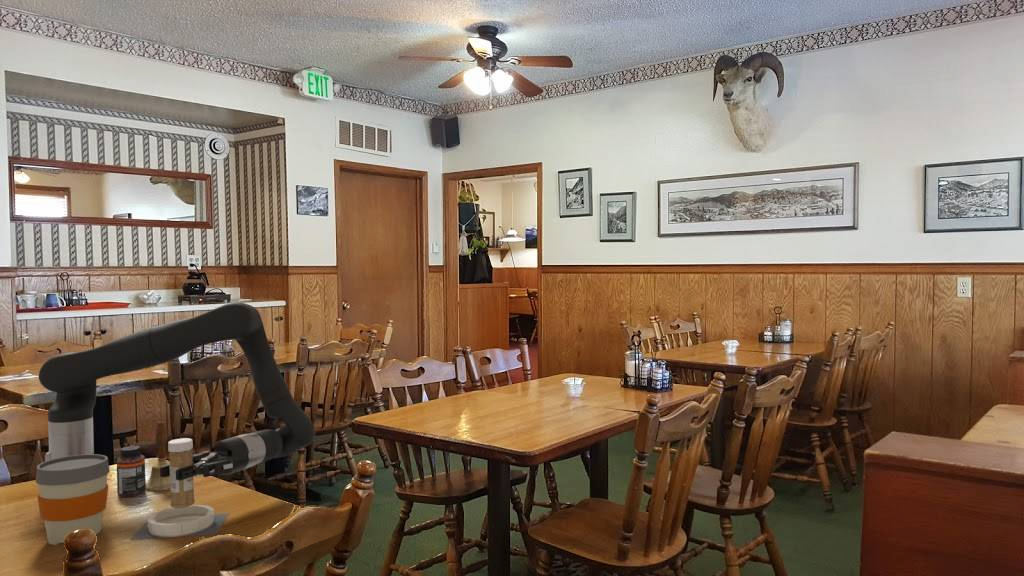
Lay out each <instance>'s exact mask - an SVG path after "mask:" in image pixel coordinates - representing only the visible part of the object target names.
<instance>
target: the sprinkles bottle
mask: <svg viewBox="0 0 1024 576" xmlns="http://www.w3.org/2000/svg"><path fill="white" fill-rule="evenodd" d="M193 448H194V445H193V439H192V438H188V437H182V438H175V439H172V440H169V441H168V444H167V449H168V450H167V451H168V454H169V456H168V457H169V462H170V466H169V467H170V490H169V491H170V499H171V500H170V501H171V503H170V506H171V507H170V508H172V507H173V508H186V507H188V506H191V505H195V503H196V502H195V501H196V500H195V494H194V493H195V491H194V487H195V481H194V476H193V477H190V478H187V479H184V480H181V481H179V480H176V470H177V469H180V468H184V467H187V466H191V465H194V464H192V463H193V462H192V452H193Z"/></svg>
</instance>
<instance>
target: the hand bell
mask: <svg viewBox="0 0 1024 576" xmlns="http://www.w3.org/2000/svg"><path fill="white" fill-rule="evenodd" d="M155 441H156V444H157V449H158V450H157V453H158V454H157V455H158V456H157V458H158V459H157V462H156V463H154V464H153V465H152V466H151V472H150V476H149V479H148V480H147V482H146V491H147V492H162V490H164V491H168V490H167V489H170V476H168V477H161V476H160V468H161V467H162V466H165V465H168V464H170V461H169V462H168V461H167V458H166V457H167V456H166V445H167V444H166V443H167V441H168V430H167V427H166V425H165V422H164V421H158V423H157V427H156V429H155Z"/></svg>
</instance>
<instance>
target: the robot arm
mask: <svg viewBox="0 0 1024 576" xmlns="http://www.w3.org/2000/svg"><path fill="white" fill-rule="evenodd" d="M230 340H234V341H235V342H236V343H237V344H238V345H239V347H240V349H241V350H242V351H243V353H244V355H245V358H246V360H247V362H248V365H249V368H250V369H249V370H250V372H251V378H252V381H253V386H254V390H255V391H256V394H257V396H258V398H259V400H260V402H261V404H262V405H261V406H262V407H263V409H264V411H265V413H266V415H267V417H269V418H270V419H277V418H280V419H281V420H282V421H283V422H284V423H285V424H284V425H283V426H281V427H279V428H278V427H277V428H276V429H271V428H269V429H268V428H267V429H263V430H258V431H255V432H250V433H244V434H239V435H236V436H232V437H228V438H225V439H222V440H218V441H217V442H215V443H214V444H213V445H212V447H211V449H210V450H206V451H205V450H204V451H201V452H200V453H195V452H194V451H192V462H193V463H192V464H193V465H191V466H187V467H184V468H180V469H177V470H176V480H179V481H181V480H184V479H187V478H190V477H193V478H194V477H197V478H199V477H201V476H202V477H203V478H208V477H212V476H217V475H222V476H227V475H231V474H233V473H237V472H240V471H244V470H246V469H249V468H252V467H254V466H256V465H258V464H261V463H265V462H267V461H269V460H273V459H278V458H283V457H287V456H290V455H293V454H295V453H297V452H298V451H300V450H303V449H304V448H306V447H308V446H309V445H311V444H312V443H313V442H314V441H315V437H316V428H315V426H314V425H315V424H314V423H313V421H312V420H311V418H310V417H309V416H308V415H307V413H306V412H305V411H304V410H303V409H302V408H301V406H300V405H299V404H298V403H297V402H296V401H295V400H294V398H293V395H292V393H291V390H290V389H289V387H288V384H287V383H286V381H285V379H284V376H283V374H282V372H281V370H280V368H279V366H278V364H277V362H276V359H275V356H274V355H273V352H272V350H271V347H270V344H269V340H268V337H267V333H266V329H265V326H264V323H263V318H262V316H261V313H260V312H259V310H258V309H256V307H254V306H253V305H250V304H249V303H248V304H247V303H244V302H241V301H233V302H228V303H224V304H223V305H220V306H218V307H216V308H213V309H211V310H208V311H206V312H203V313H200V314H198V315H196V316H193V317H190V318H184V319H180V320H179V319H178V320H175V321H171V322H166V323H164V324H163V323H162V324H159V325H155V326H153V327H147V328H145V329H142V330H139V331H136V332H132V333H129V334H128V335H124V336H122V337H119V338H117V339H114V340H112V341H110V342H107V343H105V344H103V345H100V346H97V347H94V348H90V349H87V350H86V349H85V350H82V351H70V352H66V353H61V354H58V355H55V356H52V357H51V358H49V359H48V360H46V361H45V362H44V363H43V364H42V366H41V367H40V369H39V372H38V380H39V382H40V383H39V384H41V386H42V387H43V388H44V389H46V390H48V391H50V392H52V393H56V395H55V396H56V398H55V400H54V402H53V403H52V405H51V406H50V408H49V409H48V411H47V421H48V422H47V423H48V425H47V426H48V452H46V453H45V454H44V458H45V459H44V462H45V461H48V460H52V459H56V458H61V457H66V456H73V455H84V454H94V453H95V451H94V450H95V449H94V448H95V446H94V443H95V442H94V408H95V406H96V401H97V380H100V379H103V378H105V377H112V376H115V375H121V374H125V373H126V374H128V373H131V372H137V371H140V370H145V369H148V368H149V369H150V368H153V367H155V366H160V365H163V364H166V363H169V362H171V361H174V360H176V359H179V358H180V357H183V356H184V355H186V354H188V353H189V352H191V351H193V350H195V349H197V348H200V347H202V346H206V345H210V344H213V343H219V342H224V341H230ZM169 466H170V464H168V465H165V466H162V467H161V468H160V476H161V477H168V476H170V467H169Z"/></svg>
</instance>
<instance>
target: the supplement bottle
mask: <svg viewBox="0 0 1024 576" xmlns="http://www.w3.org/2000/svg"><path fill="white" fill-rule="evenodd" d="M116 482H117V483H116V484H117V488H116V489H117V490H116V491H117V497H118V498H120V499H130V498H131V499H132V498H138V497H140V496H142V495H144V494H146V491H147V490H146V483H147V482H146V458H145V456H144V455H143V454H142V453H141V446H139V445H131V446H129V445H128V446H124V447H122V448H121V449H120V457H118V459H117V460H116Z"/></svg>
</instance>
